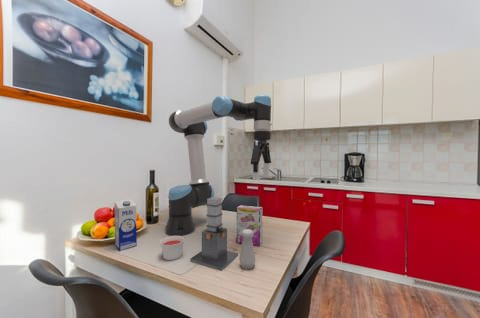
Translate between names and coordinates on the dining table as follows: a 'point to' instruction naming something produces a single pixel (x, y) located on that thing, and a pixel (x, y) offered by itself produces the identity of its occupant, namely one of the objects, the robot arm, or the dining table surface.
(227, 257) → the stand base
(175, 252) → the candle
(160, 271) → the dining table surface
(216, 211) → the column
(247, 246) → the salt shaker
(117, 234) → the milk carton
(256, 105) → the robot arm
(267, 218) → the dining table surface
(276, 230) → the dining table surface
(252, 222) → the candy bar box
